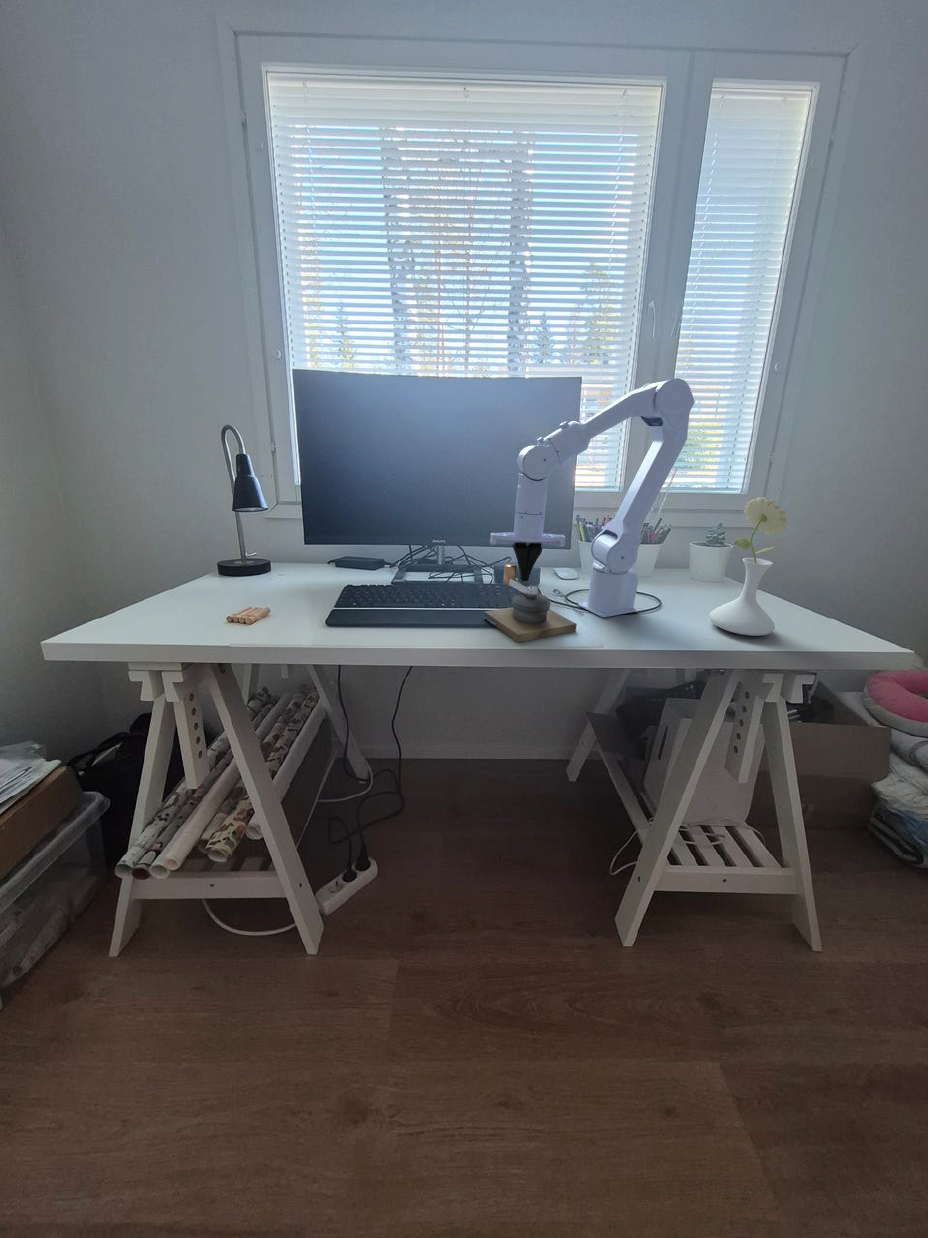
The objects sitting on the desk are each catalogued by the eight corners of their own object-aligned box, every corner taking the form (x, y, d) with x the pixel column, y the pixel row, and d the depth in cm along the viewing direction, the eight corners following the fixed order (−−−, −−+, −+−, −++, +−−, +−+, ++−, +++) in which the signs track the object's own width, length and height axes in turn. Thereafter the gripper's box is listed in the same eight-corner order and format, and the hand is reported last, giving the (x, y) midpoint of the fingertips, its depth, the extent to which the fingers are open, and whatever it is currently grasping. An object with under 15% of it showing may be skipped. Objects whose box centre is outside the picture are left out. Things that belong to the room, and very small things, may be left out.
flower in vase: (786, 642, 87) (830, 505, 78) (727, 641, 86) (765, 503, 77) (743, 616, 99) (777, 494, 90) (691, 615, 99) (720, 493, 89)
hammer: (539, 598, 88) (541, 577, 86) (529, 599, 87) (531, 578, 85) (511, 582, 96) (512, 563, 94) (500, 583, 95) (502, 564, 93)
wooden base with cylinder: (538, 610, 98) (540, 584, 96) (575, 631, 88) (579, 603, 86) (483, 618, 92) (485, 592, 90) (517, 642, 82) (520, 613, 80)
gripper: (561, 509, 94) (554, 574, 99) (490, 507, 93) (486, 573, 98) (571, 516, 88) (562, 585, 93) (494, 513, 87) (490, 583, 92)
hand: (523, 579), depth 95 cm, fingers closed
